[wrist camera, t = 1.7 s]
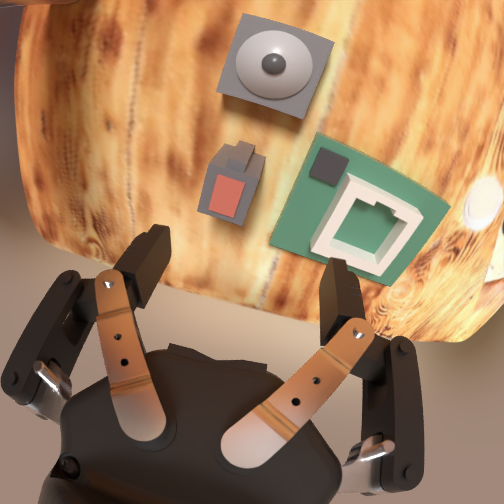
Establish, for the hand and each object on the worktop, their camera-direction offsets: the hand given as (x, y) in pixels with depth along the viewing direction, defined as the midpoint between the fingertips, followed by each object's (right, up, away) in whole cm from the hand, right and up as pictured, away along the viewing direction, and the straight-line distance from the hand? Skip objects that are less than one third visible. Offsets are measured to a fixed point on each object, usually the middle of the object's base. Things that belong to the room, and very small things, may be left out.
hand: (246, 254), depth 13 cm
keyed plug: (-1, +9, +15) cm, 17 cm away
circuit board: (+13, +4, +16) cm, 21 cm away
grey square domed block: (+2, +17, +7) cm, 19 cm away
